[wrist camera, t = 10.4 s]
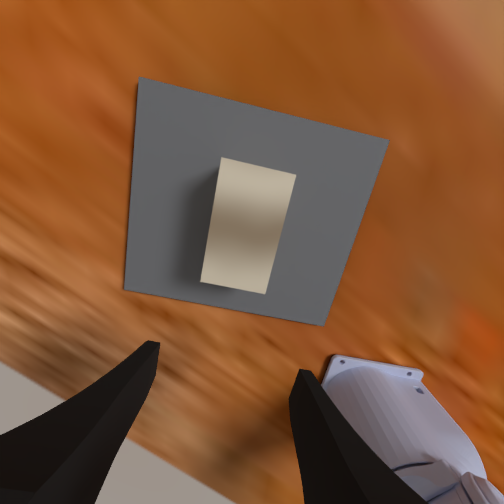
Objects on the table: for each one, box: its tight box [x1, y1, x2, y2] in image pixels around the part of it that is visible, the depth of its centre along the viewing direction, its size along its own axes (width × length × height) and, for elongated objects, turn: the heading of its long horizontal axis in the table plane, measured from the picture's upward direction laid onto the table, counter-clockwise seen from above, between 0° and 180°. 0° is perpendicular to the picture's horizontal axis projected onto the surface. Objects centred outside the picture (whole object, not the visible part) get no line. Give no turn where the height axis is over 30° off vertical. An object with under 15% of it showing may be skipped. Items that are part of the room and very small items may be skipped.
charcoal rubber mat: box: [124, 77, 390, 326], centre depth 19 cm, size 18×16×1 cm
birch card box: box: [200, 157, 296, 294], centre depth 17 cm, size 8×4×4 cm, turn 168°
